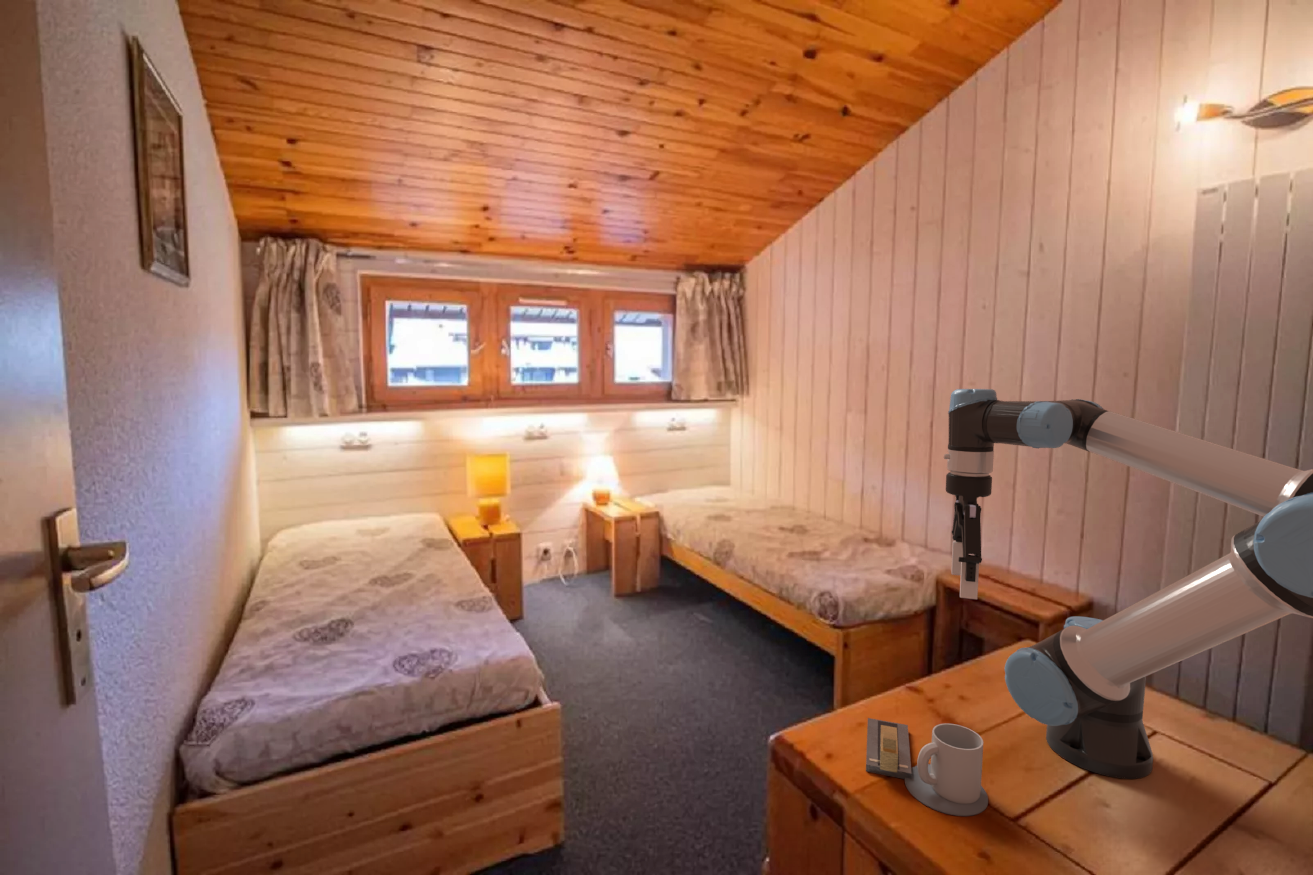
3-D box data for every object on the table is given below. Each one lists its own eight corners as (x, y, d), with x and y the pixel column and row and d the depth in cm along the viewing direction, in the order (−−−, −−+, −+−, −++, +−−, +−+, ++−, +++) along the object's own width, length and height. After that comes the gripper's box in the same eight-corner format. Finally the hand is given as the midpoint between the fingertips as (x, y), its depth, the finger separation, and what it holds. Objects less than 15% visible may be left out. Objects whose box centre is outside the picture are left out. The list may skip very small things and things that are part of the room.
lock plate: (907, 731, 114) (907, 724, 114) (911, 780, 100) (911, 773, 100) (867, 723, 116) (867, 717, 116) (865, 771, 102) (866, 763, 102)
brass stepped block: (896, 745, 107) (897, 716, 106) (897, 772, 99) (898, 742, 99) (880, 742, 108) (881, 714, 107) (880, 769, 100) (881, 739, 100)
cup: (990, 803, 94) (993, 748, 93) (929, 808, 93) (931, 752, 92) (962, 773, 101) (965, 722, 100) (904, 777, 100) (907, 725, 99)
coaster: (981, 775, 101) (981, 773, 101) (994, 824, 90) (994, 822, 90) (903, 759, 105) (903, 758, 105) (906, 805, 94) (906, 803, 94)
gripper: (940, 463, 125) (935, 564, 127) (954, 482, 102) (948, 606, 104) (981, 465, 123) (976, 568, 125) (1005, 485, 99) (998, 612, 101)
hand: (963, 585), depth 114 cm, fingers open, 13 cm apart
